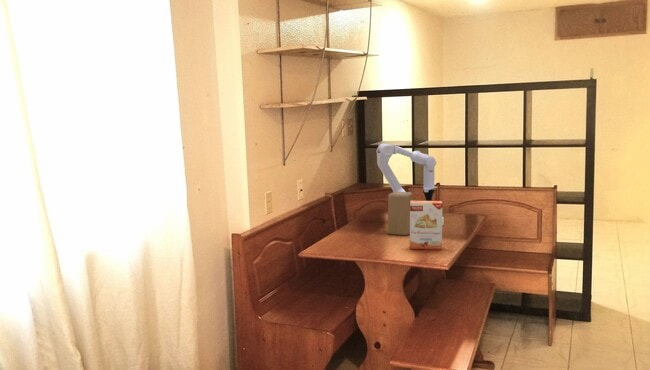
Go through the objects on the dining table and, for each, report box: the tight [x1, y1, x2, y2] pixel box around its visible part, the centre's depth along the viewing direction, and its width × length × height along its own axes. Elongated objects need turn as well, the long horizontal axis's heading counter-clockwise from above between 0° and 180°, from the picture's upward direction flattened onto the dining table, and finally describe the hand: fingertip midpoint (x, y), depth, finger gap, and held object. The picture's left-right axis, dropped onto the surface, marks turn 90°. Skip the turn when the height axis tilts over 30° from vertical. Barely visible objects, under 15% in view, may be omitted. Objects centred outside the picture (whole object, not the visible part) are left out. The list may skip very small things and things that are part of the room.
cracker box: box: [409, 200, 443, 251], centre depth 259 cm, size 14×6×21 cm, turn 82°
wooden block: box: [387, 191, 414, 237], centre depth 290 cm, size 10×10×20 cm
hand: (428, 203), depth 319 cm, fingers closed
